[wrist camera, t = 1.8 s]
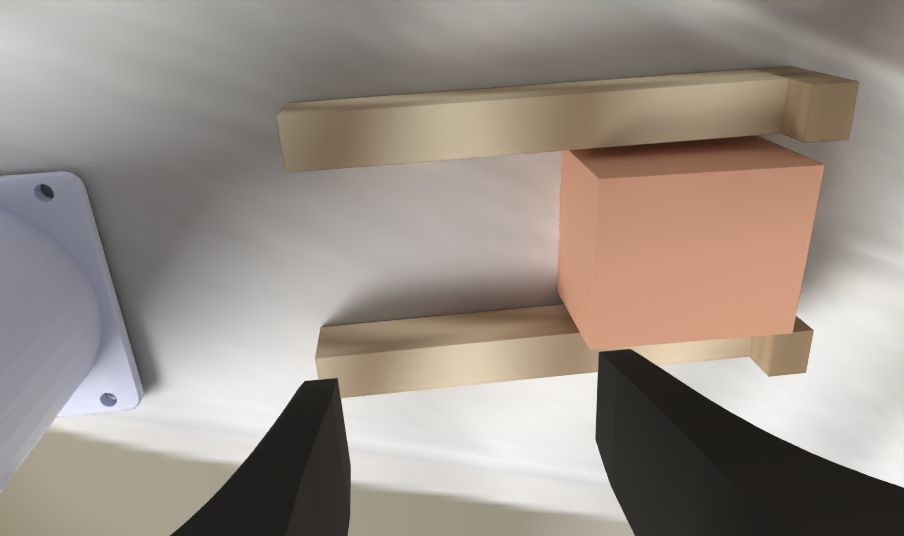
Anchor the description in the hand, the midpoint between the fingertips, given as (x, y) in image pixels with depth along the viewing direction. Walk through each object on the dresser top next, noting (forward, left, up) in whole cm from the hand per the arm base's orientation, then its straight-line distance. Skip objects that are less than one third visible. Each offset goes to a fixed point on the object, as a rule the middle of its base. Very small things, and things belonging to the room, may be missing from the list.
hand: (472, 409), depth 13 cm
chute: (+4, 0, -9) cm, 10 cm away
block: (+7, 0, -10) cm, 12 cm away
